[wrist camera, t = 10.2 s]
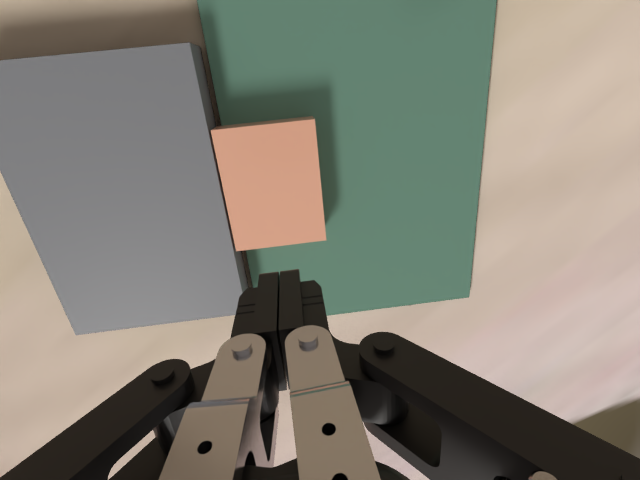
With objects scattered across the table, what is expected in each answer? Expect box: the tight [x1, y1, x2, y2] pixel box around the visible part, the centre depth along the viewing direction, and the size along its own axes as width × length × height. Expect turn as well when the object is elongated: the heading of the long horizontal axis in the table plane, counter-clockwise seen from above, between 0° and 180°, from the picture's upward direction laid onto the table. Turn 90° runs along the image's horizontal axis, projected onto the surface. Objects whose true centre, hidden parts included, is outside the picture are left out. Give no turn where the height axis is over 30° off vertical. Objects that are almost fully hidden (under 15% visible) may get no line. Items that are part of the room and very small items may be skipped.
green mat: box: [197, 0, 497, 316], centre depth 29 cm, size 26×20×1 cm
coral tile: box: [211, 116, 326, 251], centre depth 27 cm, size 9×7×2 cm
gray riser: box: [0, 43, 249, 335], centre depth 27 cm, size 20×14×3 cm
